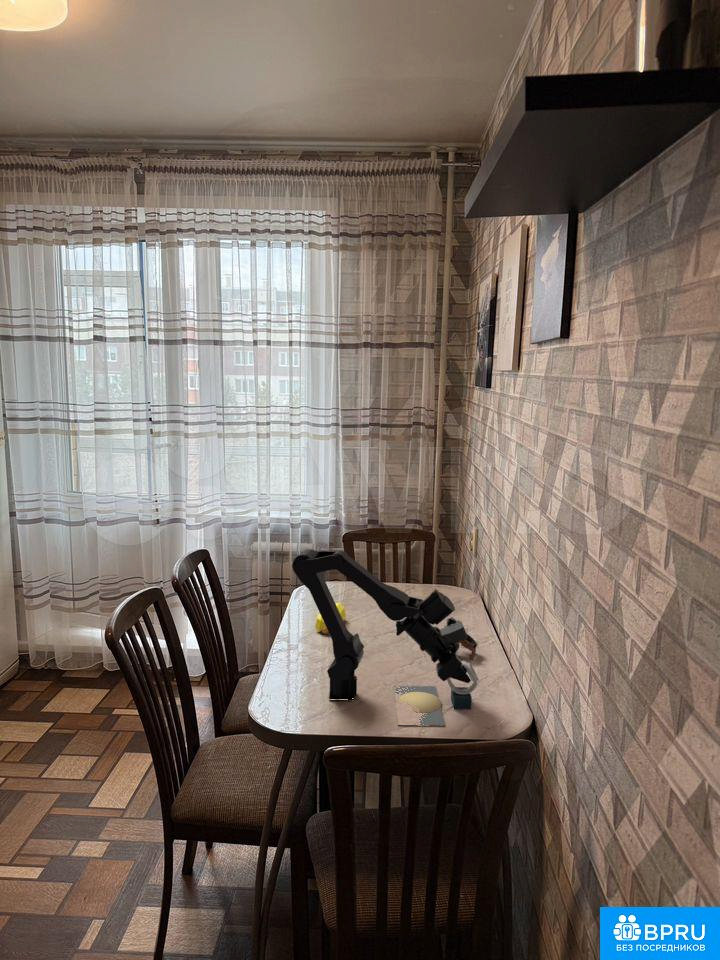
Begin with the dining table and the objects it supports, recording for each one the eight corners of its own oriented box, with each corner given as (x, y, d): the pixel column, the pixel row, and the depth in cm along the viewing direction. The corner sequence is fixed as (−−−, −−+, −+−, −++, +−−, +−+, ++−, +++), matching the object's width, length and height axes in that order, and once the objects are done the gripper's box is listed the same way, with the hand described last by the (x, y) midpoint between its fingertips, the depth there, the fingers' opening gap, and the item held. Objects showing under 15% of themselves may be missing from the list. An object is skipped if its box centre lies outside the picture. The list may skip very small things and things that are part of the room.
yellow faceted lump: (347, 617, 224) (325, 616, 226) (347, 599, 223) (325, 597, 225) (336, 637, 207) (313, 635, 208) (336, 617, 206) (313, 615, 207)
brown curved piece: (445, 648, 200) (460, 626, 199) (469, 668, 196) (485, 646, 194) (430, 651, 190) (445, 628, 189) (455, 673, 185) (471, 650, 184)
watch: (479, 709, 161) (481, 667, 160) (446, 709, 161) (448, 667, 160) (475, 698, 167) (477, 657, 165) (443, 698, 167) (445, 657, 165)
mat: (398, 725, 153) (398, 724, 153) (393, 686, 173) (393, 685, 173) (447, 726, 153) (447, 724, 153) (437, 687, 173) (437, 685, 173)
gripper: (453, 626, 152) (499, 672, 153) (443, 600, 170) (484, 641, 172) (419, 658, 153) (464, 703, 154) (412, 628, 171) (453, 669, 173)
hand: (467, 677), depth 163 cm, fingers closed on watch, 5 cm apart
